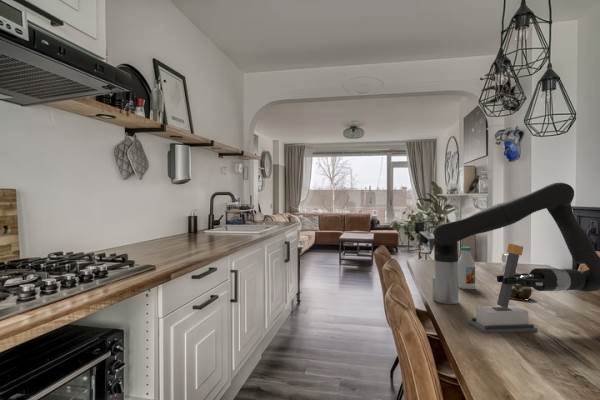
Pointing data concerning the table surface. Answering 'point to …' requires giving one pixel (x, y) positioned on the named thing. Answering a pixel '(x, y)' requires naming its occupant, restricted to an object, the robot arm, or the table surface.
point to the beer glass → (504, 261)
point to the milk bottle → (466, 269)
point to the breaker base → (501, 319)
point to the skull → (520, 292)
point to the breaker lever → (509, 273)
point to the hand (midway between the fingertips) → (500, 279)
